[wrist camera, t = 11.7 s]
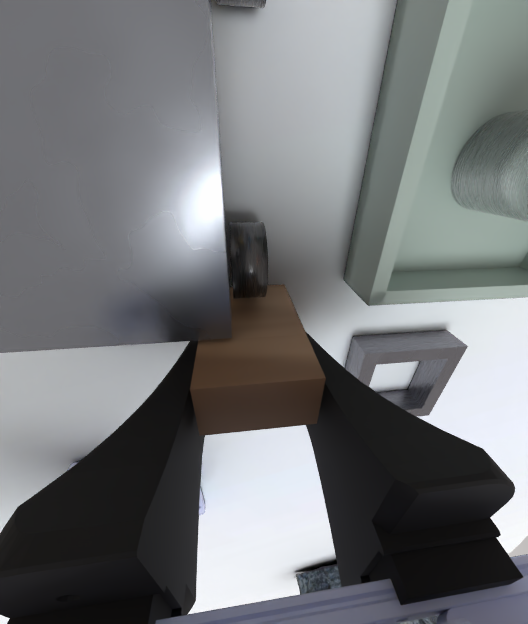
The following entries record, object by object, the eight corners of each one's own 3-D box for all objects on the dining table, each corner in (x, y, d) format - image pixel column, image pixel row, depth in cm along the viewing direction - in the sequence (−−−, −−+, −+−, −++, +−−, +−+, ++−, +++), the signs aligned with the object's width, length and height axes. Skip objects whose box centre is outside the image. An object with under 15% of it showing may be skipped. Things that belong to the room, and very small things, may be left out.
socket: (414, 396, 18) (428, 415, 16) (336, 404, 17) (344, 423, 16) (446, 330, 15) (467, 346, 13) (352, 336, 14) (365, 353, 13)
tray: (511, 273, 13) (566, 295, 11) (343, 279, 12) (367, 305, 10) (686, -35, 8) (861, -109, 6) (410, -69, 7) (495, -174, 5)
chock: (280, 349, 14) (310, 458, 9) (215, 353, 14) (206, 470, 8) (284, 284, 12) (325, 378, 7) (207, 287, 11) (190, 389, 6)
